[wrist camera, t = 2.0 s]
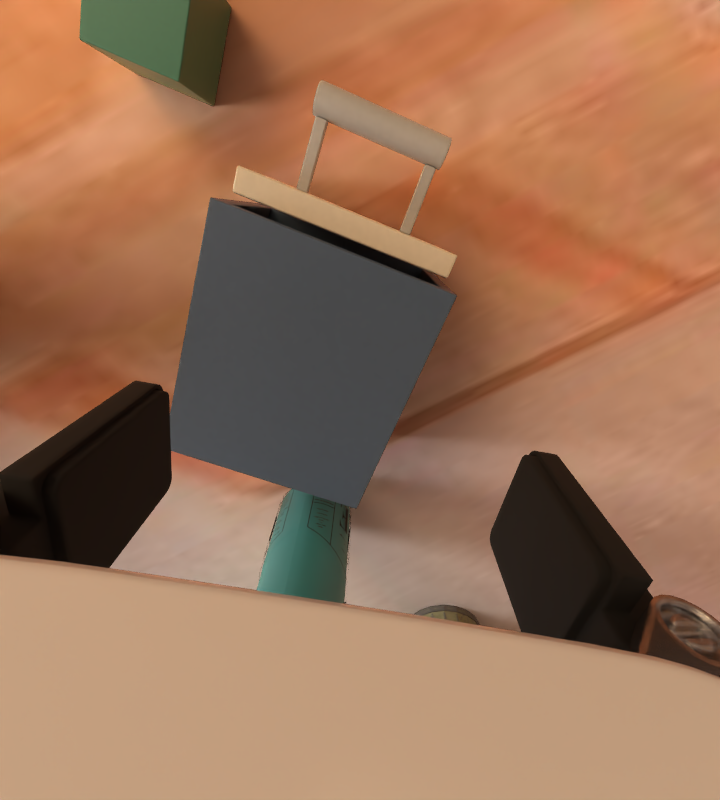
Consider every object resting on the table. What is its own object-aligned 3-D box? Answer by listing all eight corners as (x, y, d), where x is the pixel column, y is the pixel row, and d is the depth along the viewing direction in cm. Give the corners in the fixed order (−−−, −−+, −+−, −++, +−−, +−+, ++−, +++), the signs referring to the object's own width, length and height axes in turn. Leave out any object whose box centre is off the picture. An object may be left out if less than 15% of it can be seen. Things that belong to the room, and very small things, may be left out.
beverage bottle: (270, 486, 37) (172, 746, 19) (330, 456, 35) (286, 709, 17) (308, 532, 39) (255, 804, 21) (366, 506, 38) (362, 776, 19)
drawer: (296, 89, 23) (263, 34, 16) (469, 166, 25) (507, 147, 18) (229, 363, 31) (187, 406, 24) (365, 410, 32) (363, 465, 25)
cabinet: (262, 203, 27) (209, 196, 18) (431, 271, 28) (457, 295, 20) (218, 387, 33) (163, 448, 24) (360, 435, 34) (356, 509, 26)
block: (133, 72, 24) (78, 39, 19) (144, -33, 22) (85, -98, 17) (214, 107, 25) (179, 82, 20) (232, 7, 23) (196, -46, 18)
